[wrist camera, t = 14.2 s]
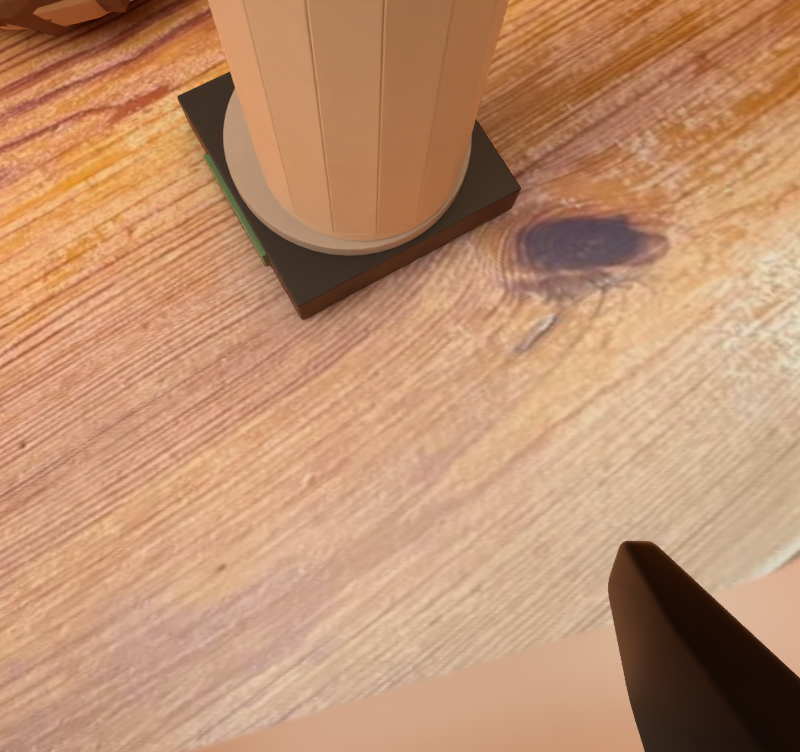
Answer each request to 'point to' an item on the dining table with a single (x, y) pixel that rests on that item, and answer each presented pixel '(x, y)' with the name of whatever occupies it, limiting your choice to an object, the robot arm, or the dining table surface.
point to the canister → (360, 102)
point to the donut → (54, 13)
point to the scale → (313, 251)
